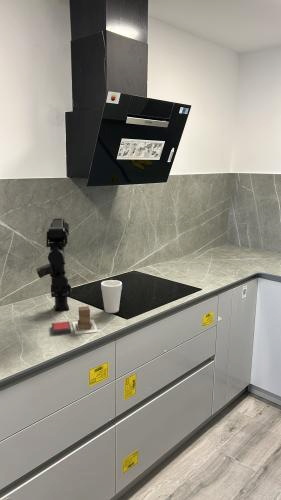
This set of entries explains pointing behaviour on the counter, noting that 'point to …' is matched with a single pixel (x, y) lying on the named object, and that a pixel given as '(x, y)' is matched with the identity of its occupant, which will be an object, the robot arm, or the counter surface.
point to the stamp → (84, 318)
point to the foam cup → (111, 295)
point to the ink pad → (61, 328)
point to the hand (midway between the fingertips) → (58, 294)
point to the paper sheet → (84, 331)
